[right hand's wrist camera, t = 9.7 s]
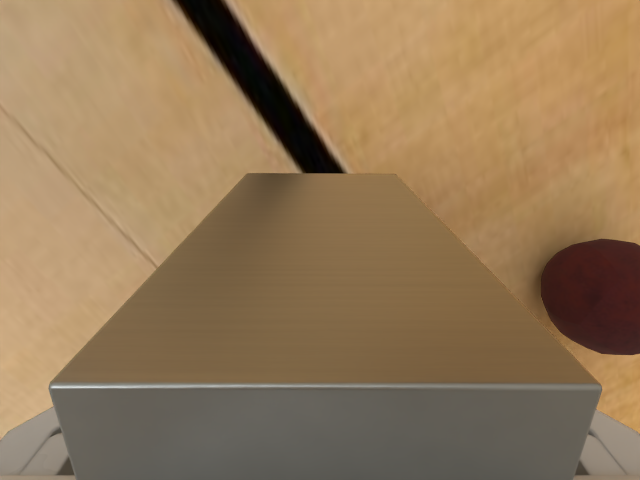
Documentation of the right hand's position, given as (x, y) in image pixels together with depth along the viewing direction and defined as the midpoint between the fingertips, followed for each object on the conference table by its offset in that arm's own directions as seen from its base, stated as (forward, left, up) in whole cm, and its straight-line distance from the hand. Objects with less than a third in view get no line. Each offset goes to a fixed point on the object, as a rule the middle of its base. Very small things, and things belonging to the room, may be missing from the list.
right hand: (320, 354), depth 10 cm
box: (+6, +3, -7) cm, 10 cm away
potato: (-3, +19, -18) cm, 26 cm away
